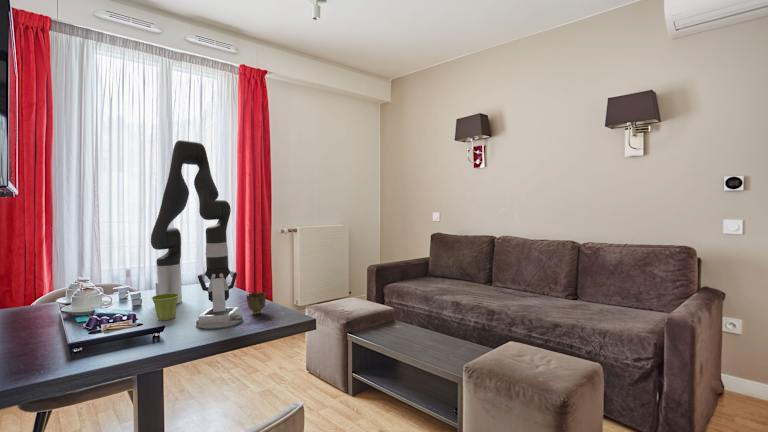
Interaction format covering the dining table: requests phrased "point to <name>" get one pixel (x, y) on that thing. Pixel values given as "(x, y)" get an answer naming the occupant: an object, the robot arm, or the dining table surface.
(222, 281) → the skincare box
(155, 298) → the plant pot
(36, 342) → the dining table surface
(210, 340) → the dining table surface
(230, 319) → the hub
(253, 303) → the cup
